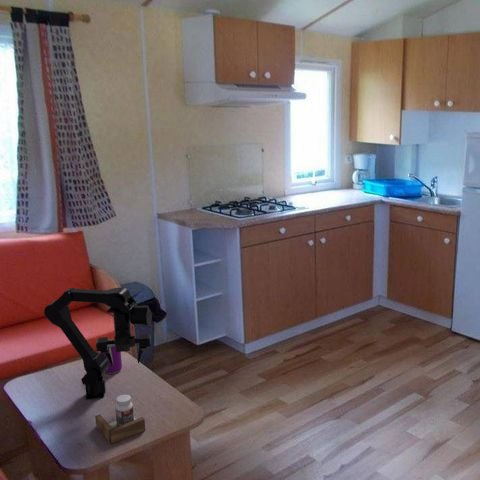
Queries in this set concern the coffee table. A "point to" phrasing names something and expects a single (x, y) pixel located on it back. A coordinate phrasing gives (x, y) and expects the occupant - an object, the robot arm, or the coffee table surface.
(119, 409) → the pill bottle
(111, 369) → the beverage can
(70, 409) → the coffee table surface
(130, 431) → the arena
